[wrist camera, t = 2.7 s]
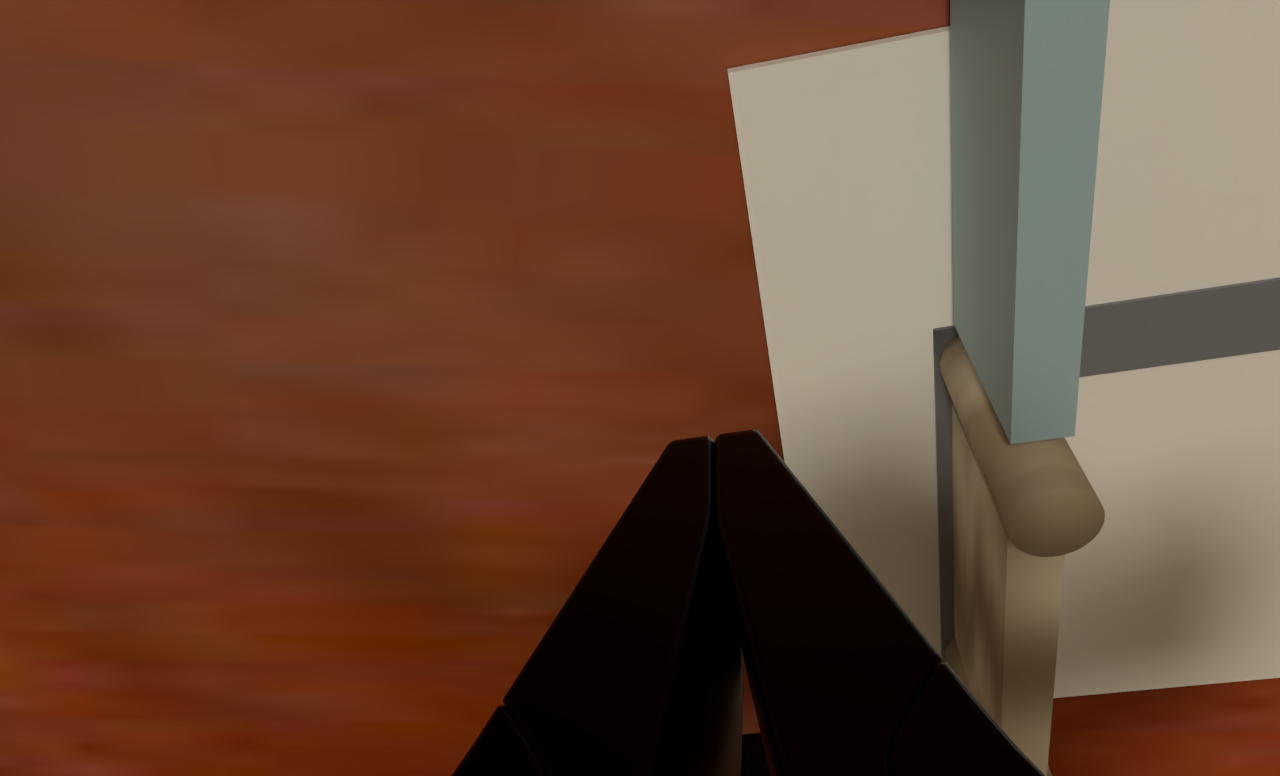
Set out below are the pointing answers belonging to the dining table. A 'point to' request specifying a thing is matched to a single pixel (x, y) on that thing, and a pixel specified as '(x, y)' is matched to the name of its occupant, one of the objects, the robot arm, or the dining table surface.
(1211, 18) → the card
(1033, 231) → the fence flap
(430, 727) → the dining table surface
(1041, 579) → the fence fixed
